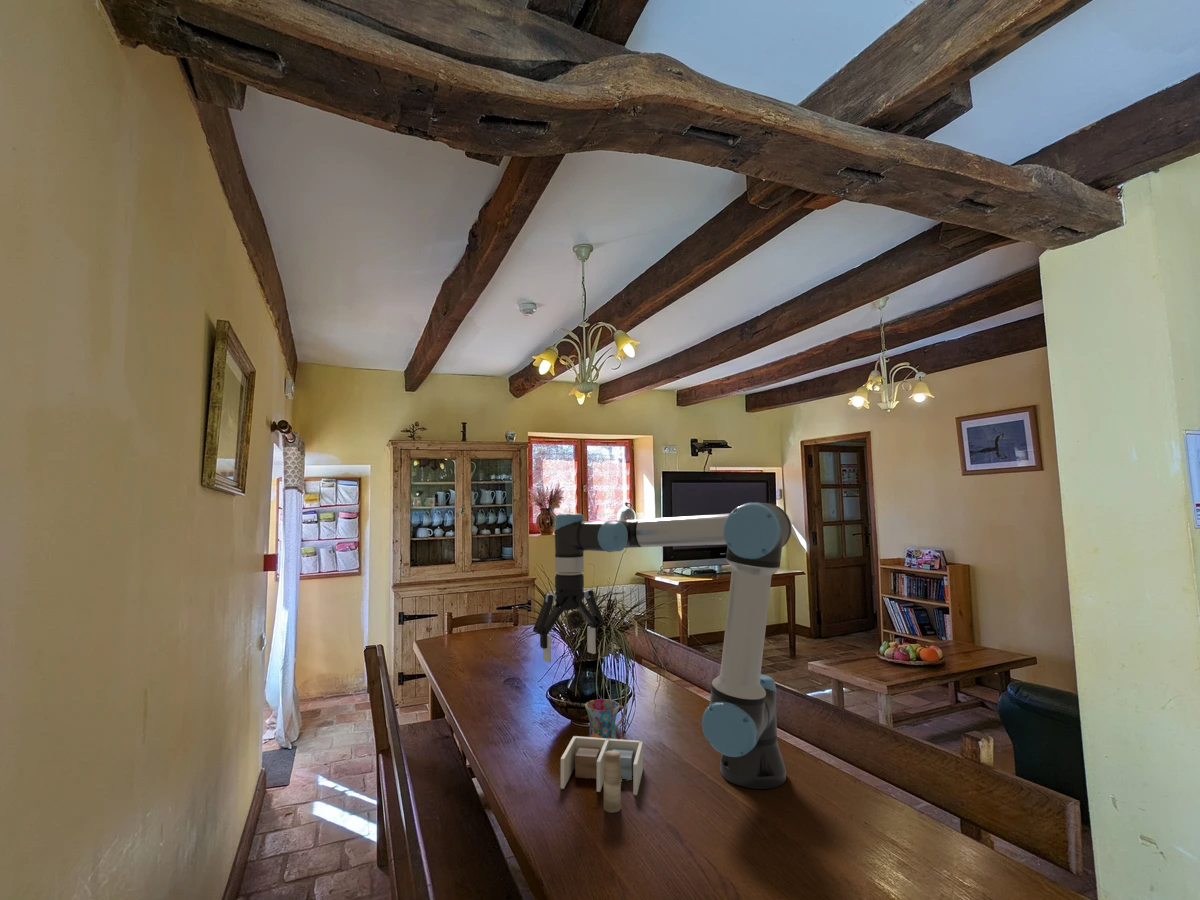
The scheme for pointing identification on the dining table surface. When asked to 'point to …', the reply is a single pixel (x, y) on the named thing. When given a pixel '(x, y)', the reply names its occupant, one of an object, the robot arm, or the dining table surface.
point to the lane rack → (601, 758)
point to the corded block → (616, 776)
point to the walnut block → (586, 762)
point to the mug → (603, 718)
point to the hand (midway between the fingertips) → (569, 657)
